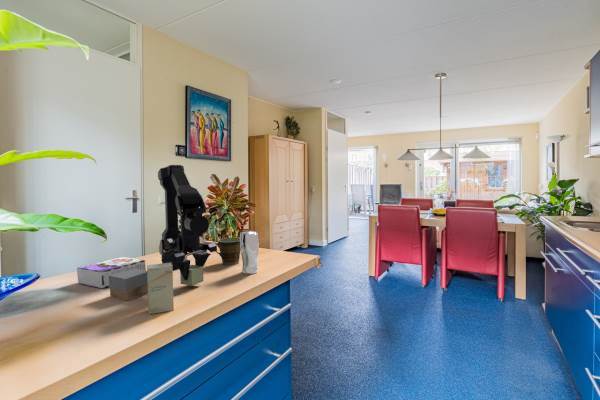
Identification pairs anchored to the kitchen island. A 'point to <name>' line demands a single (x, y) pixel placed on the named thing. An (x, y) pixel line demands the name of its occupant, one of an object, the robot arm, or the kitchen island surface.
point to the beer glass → (249, 251)
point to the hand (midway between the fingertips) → (192, 277)
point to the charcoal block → (128, 279)
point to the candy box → (107, 270)
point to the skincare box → (160, 287)
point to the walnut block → (129, 293)
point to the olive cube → (193, 275)
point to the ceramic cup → (229, 250)
